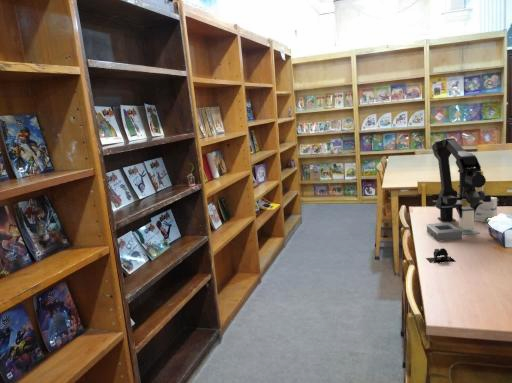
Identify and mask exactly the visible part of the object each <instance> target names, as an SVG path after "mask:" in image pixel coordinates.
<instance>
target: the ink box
mask: <svg viewBox="0 0 512 383" xmlns="http://www.w3.org/2000/svg"><path fill="white" fill-rule="evenodd" d="M481 202H482V203H483V204H480V205H479V206H478V207H477V209H476V211H475V217H474V222H484V223H487V222H486V221H487V219H488V218H492V217H494V216H497V217H498V197H494V196H491V202H483V201H482V200H481Z"/></svg>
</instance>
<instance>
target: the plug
mask: <svg viewBox="0 0 512 383" xmlns="http://www.w3.org/2000/svg"><path fill="white" fill-rule="evenodd" d="M458 217H459V216H458ZM458 227H459V228H463V229H471V228H473V229H475V217H474V208H472V207H470V206H468V207H462V218H460V217H459V218H458Z"/></svg>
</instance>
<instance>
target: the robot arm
mask: <svg viewBox="0 0 512 383" xmlns="http://www.w3.org/2000/svg"><path fill="white" fill-rule="evenodd" d="M431 150H432V152H433V156H434V157H435V158H436V159H437V161H438V168H439V169H438V170H439V179H440V186H441V187H440V188H441V189H440V191H439V193H438V199H437V200H436V202H435V207H436V209H438V210H439V217H437V219H438V220H439V221H441V223H446V222H455V221H456V219H455V218H454V209H455V210H456V212H457V214H458V217H460V218H462V201H467V202H468V203H469V204H470V207H472V208H474V214H475V211H476V209H477V207H478V206H479V205H480V204H483V203H482V202H481V200H482V201H483V202H491V197H492V196H491V195H490V194H488V193H485V191H484V190H483V191H478V192H476V188H480V187H482V186H483V187H484V186H485V185H486V182H487V181H486V180H487V179H486V176H485V175H484V174H483V175H481V171H482V169H481V168H482V167H481V165H480V162H479V160H478V158H477V156H476V155H475V154H474V153H472V152H469V151H466V150H465V149H464V148H463V146H461V145H460V144H459V142H458V141H457V139H456V138H455V137H446V138H443V139H442V140H438V141H435V142H434V144H432V146H431ZM451 155H452V156H453V157H454V158H455V164H456V166H457V168H458V170H457V172H458V173H459V183H458V188H459V192H458V191H457V190H455V189H454V187H453V183H452V176H451V175H452V174H451V165H450V157H451ZM475 187H476V188H475Z"/></svg>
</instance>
